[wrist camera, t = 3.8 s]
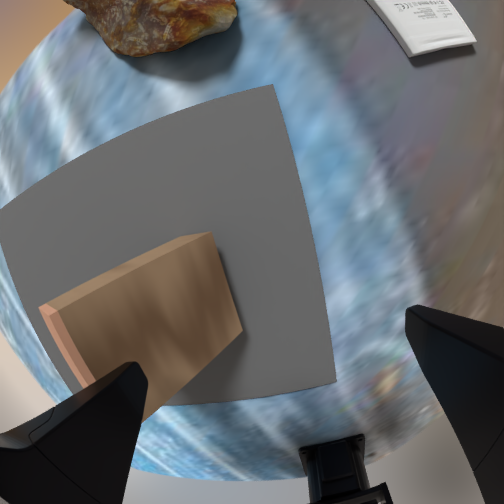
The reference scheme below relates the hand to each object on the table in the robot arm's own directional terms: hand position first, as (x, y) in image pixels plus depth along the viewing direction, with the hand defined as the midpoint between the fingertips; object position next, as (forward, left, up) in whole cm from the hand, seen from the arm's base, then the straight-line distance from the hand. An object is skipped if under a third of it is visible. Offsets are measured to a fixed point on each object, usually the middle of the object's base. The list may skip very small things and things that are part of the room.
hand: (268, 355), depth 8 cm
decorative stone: (+20, +3, -9) cm, 22 cm away
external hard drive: (+18, -15, -9) cm, 25 cm away
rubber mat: (0, +10, -9) cm, 13 cm away
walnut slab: (0, +3, -8) cm, 8 cm away
